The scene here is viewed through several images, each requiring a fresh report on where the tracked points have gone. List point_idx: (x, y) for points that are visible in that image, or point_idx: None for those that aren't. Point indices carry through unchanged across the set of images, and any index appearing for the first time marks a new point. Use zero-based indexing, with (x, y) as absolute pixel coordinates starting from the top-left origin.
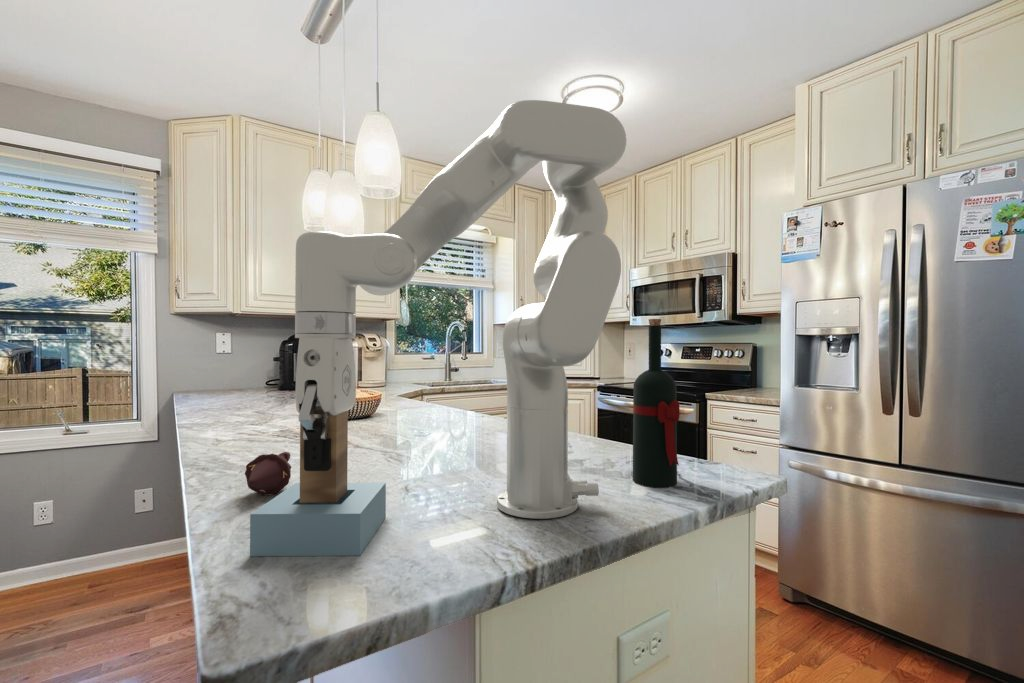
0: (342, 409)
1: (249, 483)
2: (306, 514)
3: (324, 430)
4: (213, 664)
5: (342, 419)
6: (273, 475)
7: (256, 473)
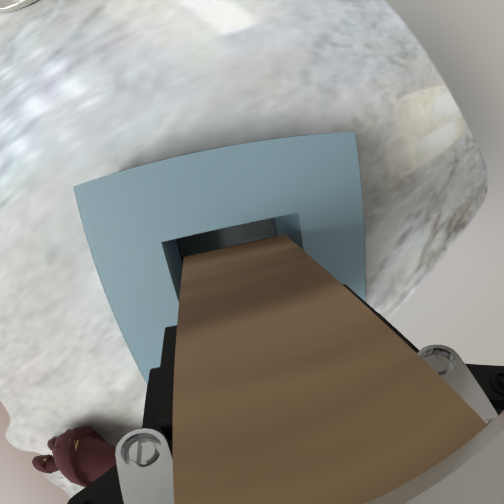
0: (502, 450)
1: None
2: (364, 256)
3: (466, 371)
4: (486, 193)
5: (327, 457)
6: (98, 453)
7: None
